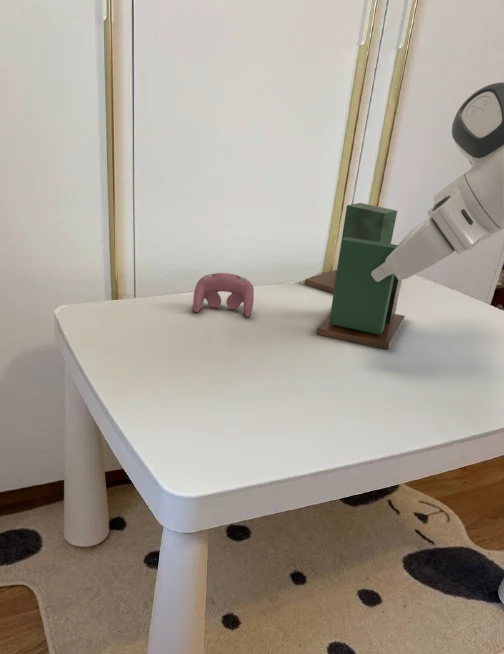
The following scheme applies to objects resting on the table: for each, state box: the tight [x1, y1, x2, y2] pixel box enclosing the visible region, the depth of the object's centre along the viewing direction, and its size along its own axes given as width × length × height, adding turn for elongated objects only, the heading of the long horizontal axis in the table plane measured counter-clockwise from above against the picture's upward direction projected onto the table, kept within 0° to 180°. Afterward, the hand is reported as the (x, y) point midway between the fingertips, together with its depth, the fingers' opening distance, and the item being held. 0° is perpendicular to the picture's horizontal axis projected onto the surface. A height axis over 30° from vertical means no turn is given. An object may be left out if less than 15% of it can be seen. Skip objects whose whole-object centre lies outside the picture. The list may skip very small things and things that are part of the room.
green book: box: [329, 237, 399, 335], centre depth 94 cm, size 8×2×13 cm, turn 64°
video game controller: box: [192, 272, 255, 317], centre depth 104 cm, size 10×5×7 cm, turn 83°
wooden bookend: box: [316, 276, 406, 350], centre depth 98 cm, size 11×14×12 cm
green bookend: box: [304, 202, 398, 294], centre depth 117 cm, size 11×14×14 cm
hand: (377, 273), depth 92 cm, fingers closed on green book, 2 cm apart
